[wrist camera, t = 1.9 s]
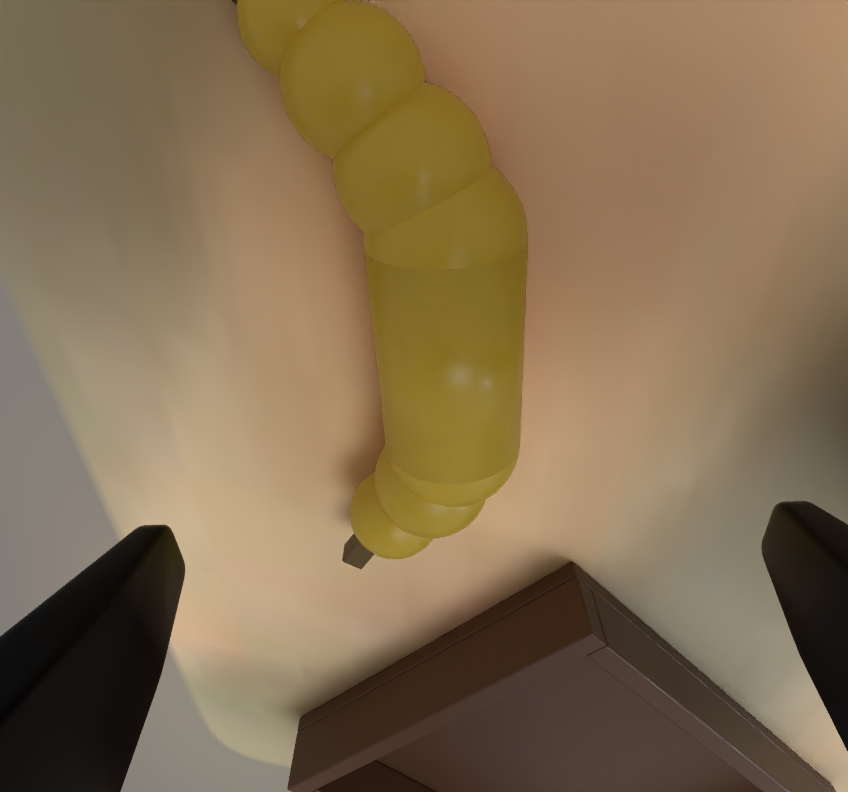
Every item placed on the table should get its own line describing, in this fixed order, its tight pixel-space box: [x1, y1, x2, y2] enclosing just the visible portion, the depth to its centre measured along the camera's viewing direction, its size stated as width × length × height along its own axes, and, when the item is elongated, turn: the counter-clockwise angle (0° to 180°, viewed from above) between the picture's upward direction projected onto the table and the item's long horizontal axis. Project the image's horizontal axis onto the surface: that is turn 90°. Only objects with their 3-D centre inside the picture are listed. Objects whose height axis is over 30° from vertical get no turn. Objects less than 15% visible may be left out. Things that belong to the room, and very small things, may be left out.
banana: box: [232, 0, 528, 569], centre depth 14 cm, size 15×6×3 cm, turn 3°
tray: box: [288, 562, 836, 792], centre depth 26 cm, size 21×14×3 cm
